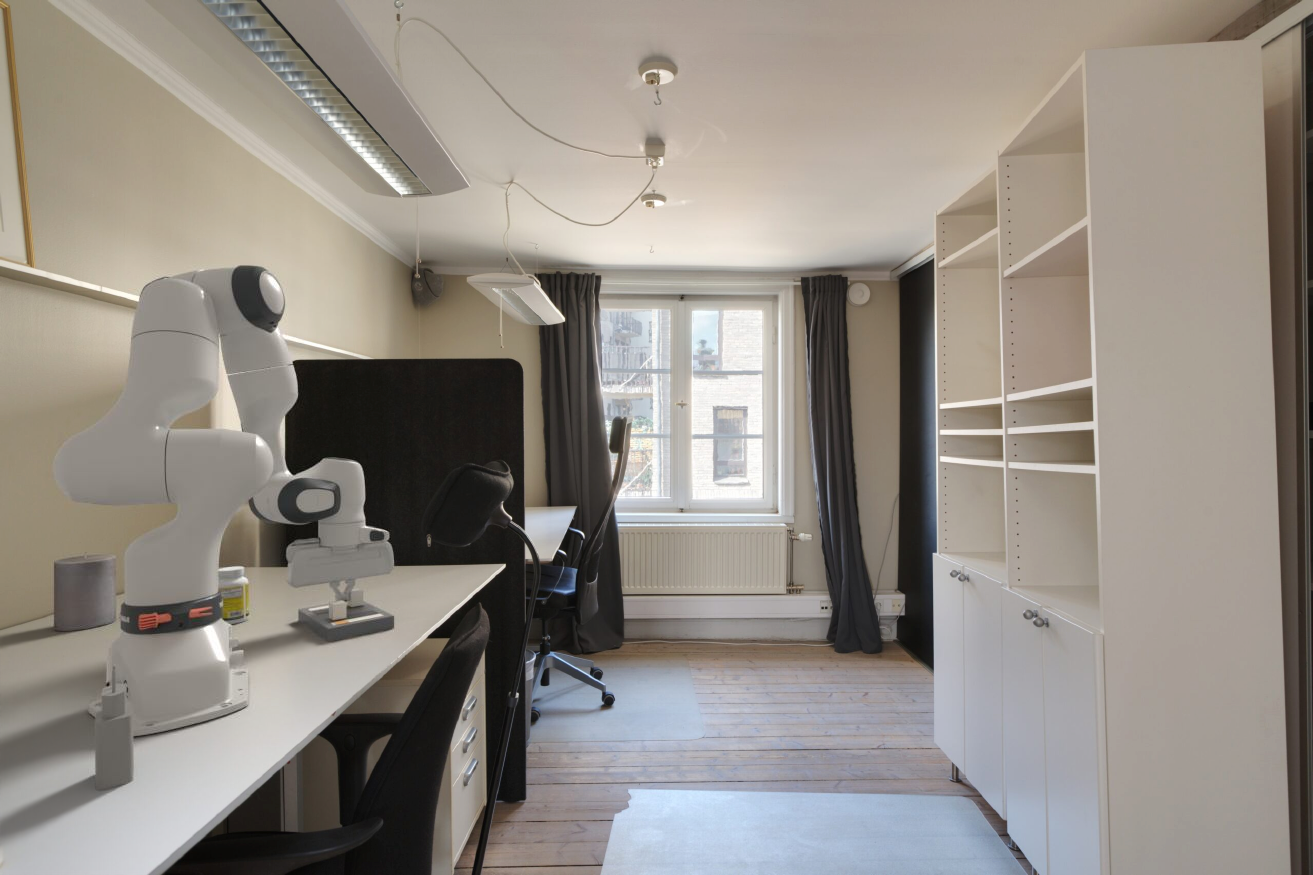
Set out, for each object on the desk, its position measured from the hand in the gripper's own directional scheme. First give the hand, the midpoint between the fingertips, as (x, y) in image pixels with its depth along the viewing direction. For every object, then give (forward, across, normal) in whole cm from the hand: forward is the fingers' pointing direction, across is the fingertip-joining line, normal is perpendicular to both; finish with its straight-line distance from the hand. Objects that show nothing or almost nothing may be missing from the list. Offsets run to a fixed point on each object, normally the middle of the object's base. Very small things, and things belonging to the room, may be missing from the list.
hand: (342, 601), depth 133 cm
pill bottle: (+4, -17, +16) cm, 23 cm away
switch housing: (+4, -1, -4) cm, 6 cm away
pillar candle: (+4, -39, +36) cm, 53 cm away
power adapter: (+4, -39, -49) cm, 63 cm away
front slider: (+1, -4, -8) cm, 9 cm away
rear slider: (+1, +2, 0) cm, 3 cm away
